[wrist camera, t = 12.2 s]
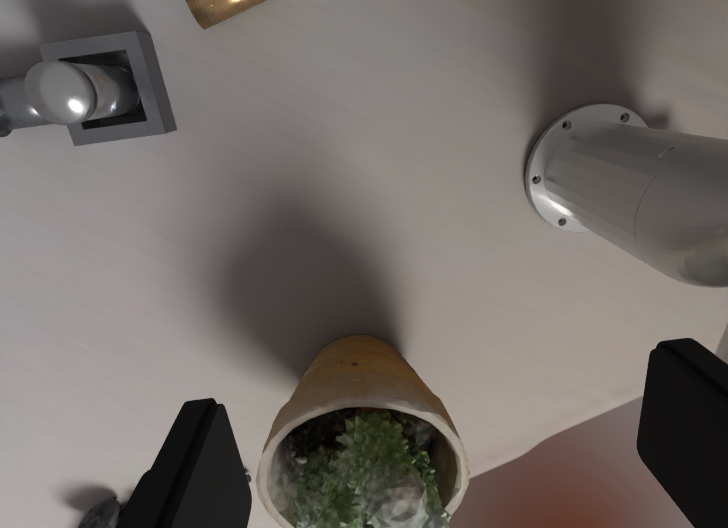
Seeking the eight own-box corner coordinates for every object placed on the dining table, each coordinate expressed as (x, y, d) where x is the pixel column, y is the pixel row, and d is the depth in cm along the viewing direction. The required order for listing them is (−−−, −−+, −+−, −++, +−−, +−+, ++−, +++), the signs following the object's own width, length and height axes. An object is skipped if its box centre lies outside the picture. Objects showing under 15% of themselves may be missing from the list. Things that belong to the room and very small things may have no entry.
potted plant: (444, 418, 56) (516, 654, 33) (301, 446, 57) (274, 697, 34) (422, 291, 49) (493, 478, 26) (259, 325, 50) (187, 536, 27)
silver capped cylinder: (137, 61, 39) (73, 56, 30) (152, 111, 41) (96, 121, 31) (90, 68, 39) (12, 64, 30) (107, 118, 41) (37, 129, 31)
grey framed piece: (150, 34, 38) (124, 28, 34) (177, 129, 41) (156, 136, 37) (-21, 58, 38) (-71, 54, 34) (18, 151, 41) (-23, 160, 37)
